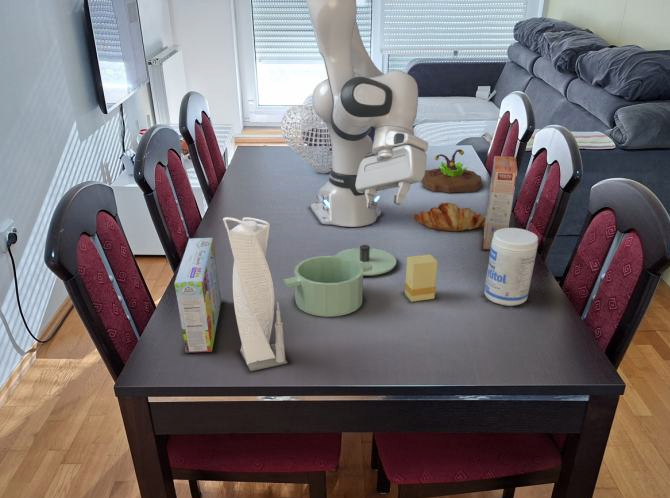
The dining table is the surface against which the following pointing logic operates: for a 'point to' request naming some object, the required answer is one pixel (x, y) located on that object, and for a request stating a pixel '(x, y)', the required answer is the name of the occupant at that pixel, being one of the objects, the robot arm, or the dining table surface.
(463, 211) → the croissant
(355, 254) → the pot lid
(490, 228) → the cracker box
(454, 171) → the plant
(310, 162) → the heart
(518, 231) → the supplement tub
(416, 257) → the butter
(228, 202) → the dining table surface
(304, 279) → the pot
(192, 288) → the snack box
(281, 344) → the skyscraper
